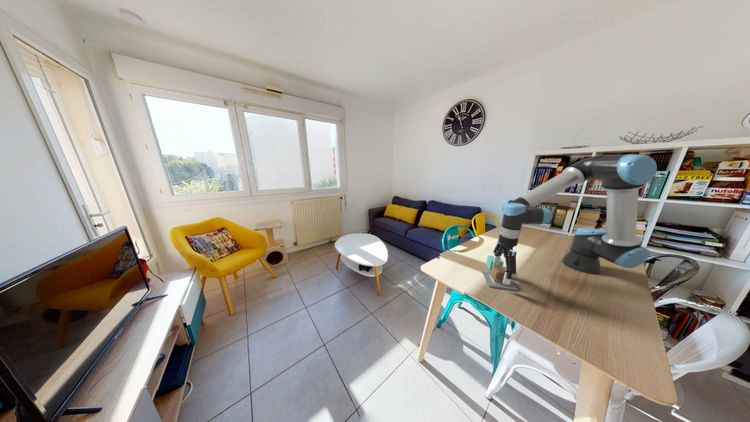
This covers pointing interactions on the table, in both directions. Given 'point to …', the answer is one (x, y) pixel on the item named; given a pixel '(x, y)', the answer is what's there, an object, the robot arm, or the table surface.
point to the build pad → (498, 285)
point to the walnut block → (498, 273)
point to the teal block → (490, 262)
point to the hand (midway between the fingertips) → (500, 275)
